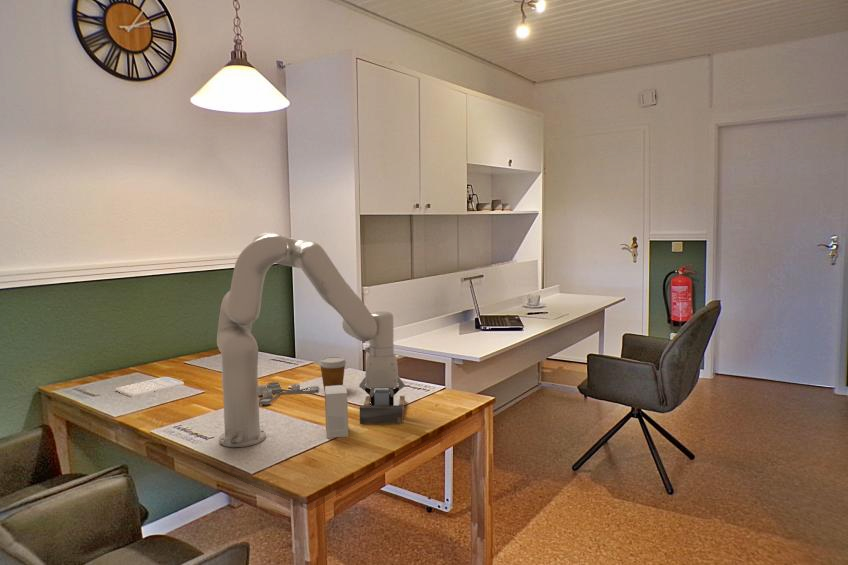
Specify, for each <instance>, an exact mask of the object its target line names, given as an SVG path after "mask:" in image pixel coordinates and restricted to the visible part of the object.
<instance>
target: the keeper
mask: <svg viewBox="0 0 848 565" xmlns="http://www.w3.org/2000/svg"><path fill="white" fill-rule="evenodd" d="M389 395H390V392H389V388H375V390H374V400H375V405H389Z"/></svg>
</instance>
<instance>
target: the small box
mask: <svg viewBox="0 0 848 565" xmlns="http://www.w3.org/2000/svg"><path fill="white" fill-rule="evenodd" d="M348 403H349V402H348V390H347V386H346V384H343V385H336V386H325V392H324V404H325V405H324V413H325V414H324V415H325V431H326V432H325V433H326V438H327V439H329V438H330V439H331V438H343V437H349V411H348V410H349V409H348V408H349V407H348Z"/></svg>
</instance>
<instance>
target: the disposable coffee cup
mask: <svg viewBox="0 0 848 565" xmlns="http://www.w3.org/2000/svg"><path fill="white" fill-rule="evenodd" d="M318 364H319V367H320V373H321V378H322V384H323V391H324V393H325V386H336V385H344V375H345V367H346V364H347V361H346V358H344V357H342V356H326V357H323V358H321V359H320V360H319V363H318Z"/></svg>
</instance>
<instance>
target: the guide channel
mask: <svg viewBox="0 0 848 565" xmlns="http://www.w3.org/2000/svg"><path fill="white" fill-rule="evenodd" d="M405 397H406V396H405V395H399V401H398V402H399V403H398V404H396V405H395V404H394V405H372V406H371V403H370V402H371V397H370V395H366V396H365V400H364V402H363V405H360V406H359V425H360V424H362V425H363V424H364V425H365V424H369V425H370V424H374V425H375V424H403V420H404V412H405V403H404V402H405V399H406V398H405Z"/></svg>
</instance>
